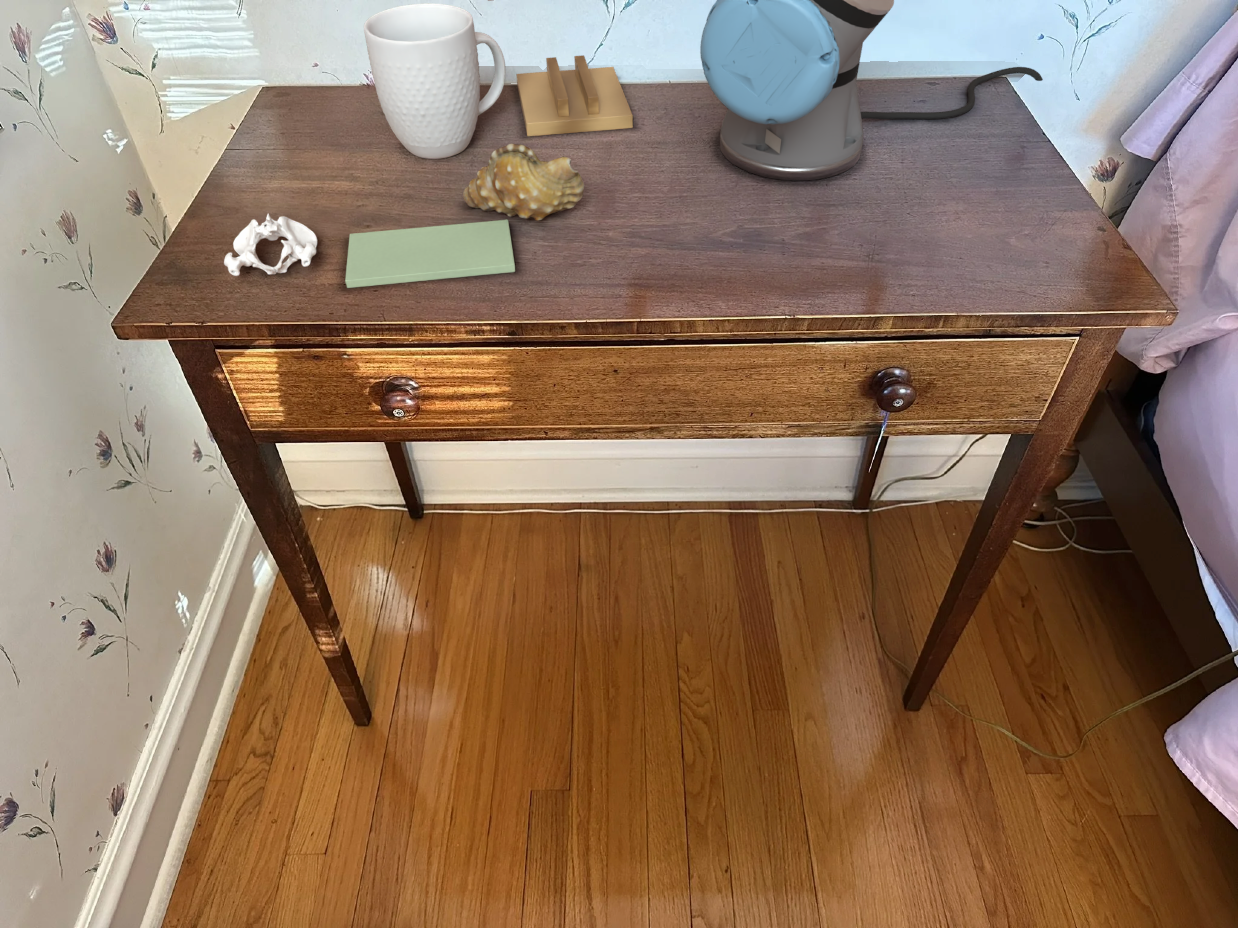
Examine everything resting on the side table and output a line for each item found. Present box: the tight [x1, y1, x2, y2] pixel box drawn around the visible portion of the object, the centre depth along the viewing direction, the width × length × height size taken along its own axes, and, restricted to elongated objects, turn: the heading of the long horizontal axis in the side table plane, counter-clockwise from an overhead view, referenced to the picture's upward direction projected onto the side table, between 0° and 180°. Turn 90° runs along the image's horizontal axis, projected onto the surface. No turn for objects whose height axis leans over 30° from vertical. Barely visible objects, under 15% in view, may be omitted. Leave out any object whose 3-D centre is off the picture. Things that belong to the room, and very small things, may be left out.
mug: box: [363, 2, 507, 160], centre depth 95 cm, size 15×11×13 cm
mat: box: [344, 219, 516, 289], centre depth 83 cm, size 15×8×1 cm, turn 99°
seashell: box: [462, 143, 585, 221], centre depth 86 cm, size 9×8×10 cm
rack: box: [515, 55, 634, 137], centre depth 105 cm, size 12×14×4 cm
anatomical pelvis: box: [223, 213, 318, 277], centre depth 81 cm, size 8×4×7 cm
